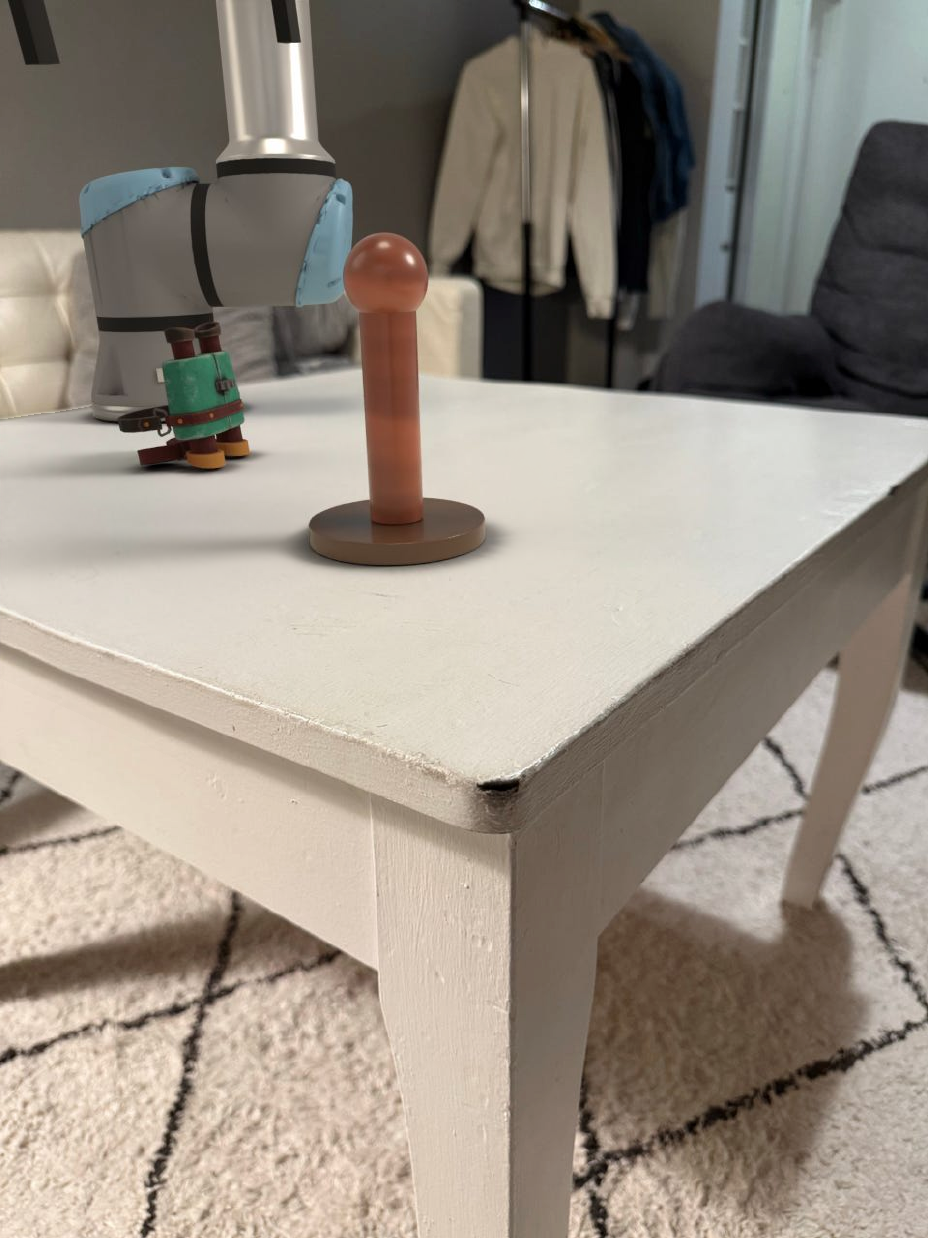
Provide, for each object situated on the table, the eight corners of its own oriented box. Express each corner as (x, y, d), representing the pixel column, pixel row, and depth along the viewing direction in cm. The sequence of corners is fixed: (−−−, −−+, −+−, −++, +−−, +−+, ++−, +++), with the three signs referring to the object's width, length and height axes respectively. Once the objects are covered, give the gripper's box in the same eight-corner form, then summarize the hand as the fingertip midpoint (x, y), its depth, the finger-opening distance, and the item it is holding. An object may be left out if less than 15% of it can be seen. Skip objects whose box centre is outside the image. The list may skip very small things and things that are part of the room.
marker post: (301, 523, 56) (276, 236, 50) (459, 509, 58) (453, 233, 52) (321, 574, 47) (294, 230, 41) (507, 554, 49) (507, 227, 43)
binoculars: (134, 331, 75) (245, 317, 73) (164, 458, 79) (270, 448, 77) (70, 340, 67) (192, 325, 65) (106, 481, 71) (223, 471, 69)
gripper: (-305, -555, 36) (-95, 73, 47) (321, -641, 34) (387, 31, 45) (-184, -462, 42) (-24, 72, 53) (349, -530, 41) (401, 35, 52)
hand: (165, 54), depth 49 cm, fingers open, 13 cm apart
